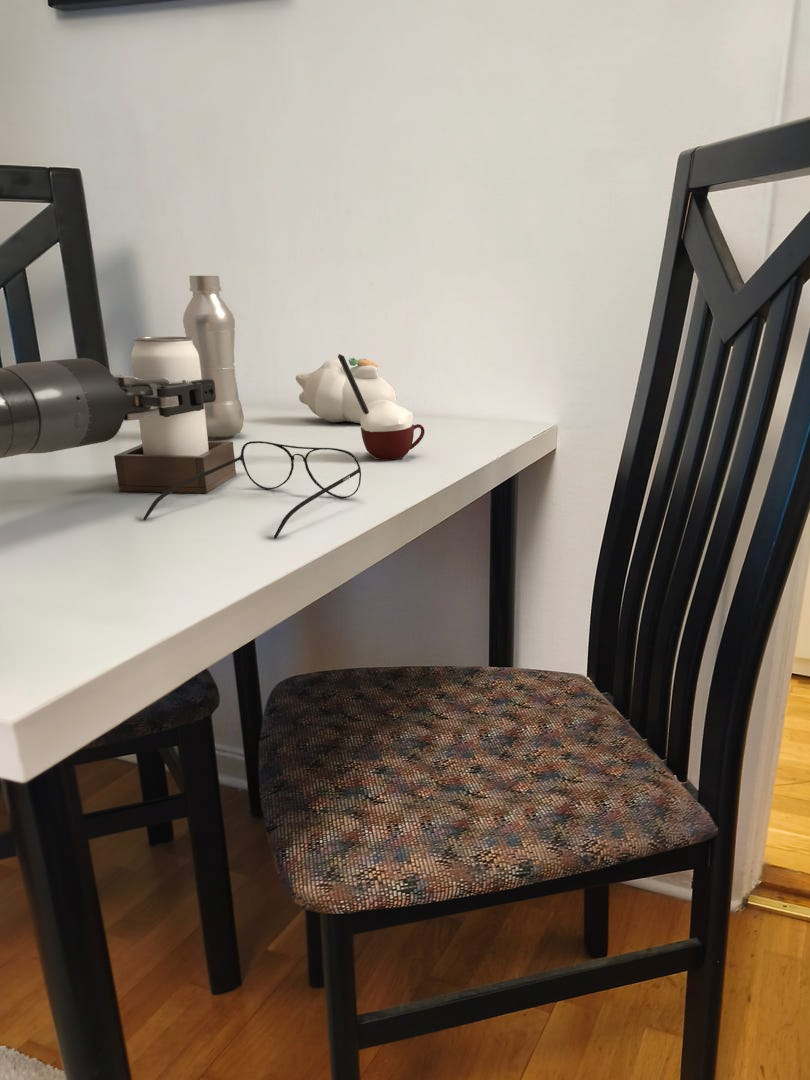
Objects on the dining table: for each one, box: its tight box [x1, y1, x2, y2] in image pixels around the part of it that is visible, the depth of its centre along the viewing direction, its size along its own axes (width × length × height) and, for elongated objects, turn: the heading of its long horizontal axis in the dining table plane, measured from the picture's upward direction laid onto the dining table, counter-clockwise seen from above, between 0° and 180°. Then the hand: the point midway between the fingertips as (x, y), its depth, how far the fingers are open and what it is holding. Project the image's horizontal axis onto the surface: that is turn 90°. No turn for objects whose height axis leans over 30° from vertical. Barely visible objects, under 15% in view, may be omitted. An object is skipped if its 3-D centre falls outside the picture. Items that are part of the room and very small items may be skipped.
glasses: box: [142, 440, 362, 539], centre depth 83 cm, size 14×15×5 cm
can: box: [130, 336, 209, 456], centre depth 90 cm, size 6×6×12 cm
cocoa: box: [337, 353, 425, 461], centre depth 105 cm, size 10×6×12 cm, turn 88°
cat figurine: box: [295, 357, 398, 424], centre depth 130 cm, size 10×8×15 cm
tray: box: [113, 440, 237, 494], centre depth 93 cm, size 9×9×4 cm
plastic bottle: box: [182, 275, 245, 439], centre depth 115 cm, size 6×7×20 cm
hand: (184, 388), depth 92 cm, fingers closed on can, 6 cm apart
